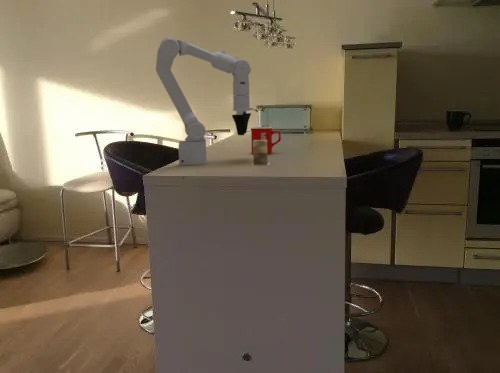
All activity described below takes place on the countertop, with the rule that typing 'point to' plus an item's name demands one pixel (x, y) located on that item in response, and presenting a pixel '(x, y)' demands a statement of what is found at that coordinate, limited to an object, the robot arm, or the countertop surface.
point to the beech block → (260, 146)
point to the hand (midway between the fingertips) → (242, 134)
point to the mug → (264, 136)
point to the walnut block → (260, 158)
